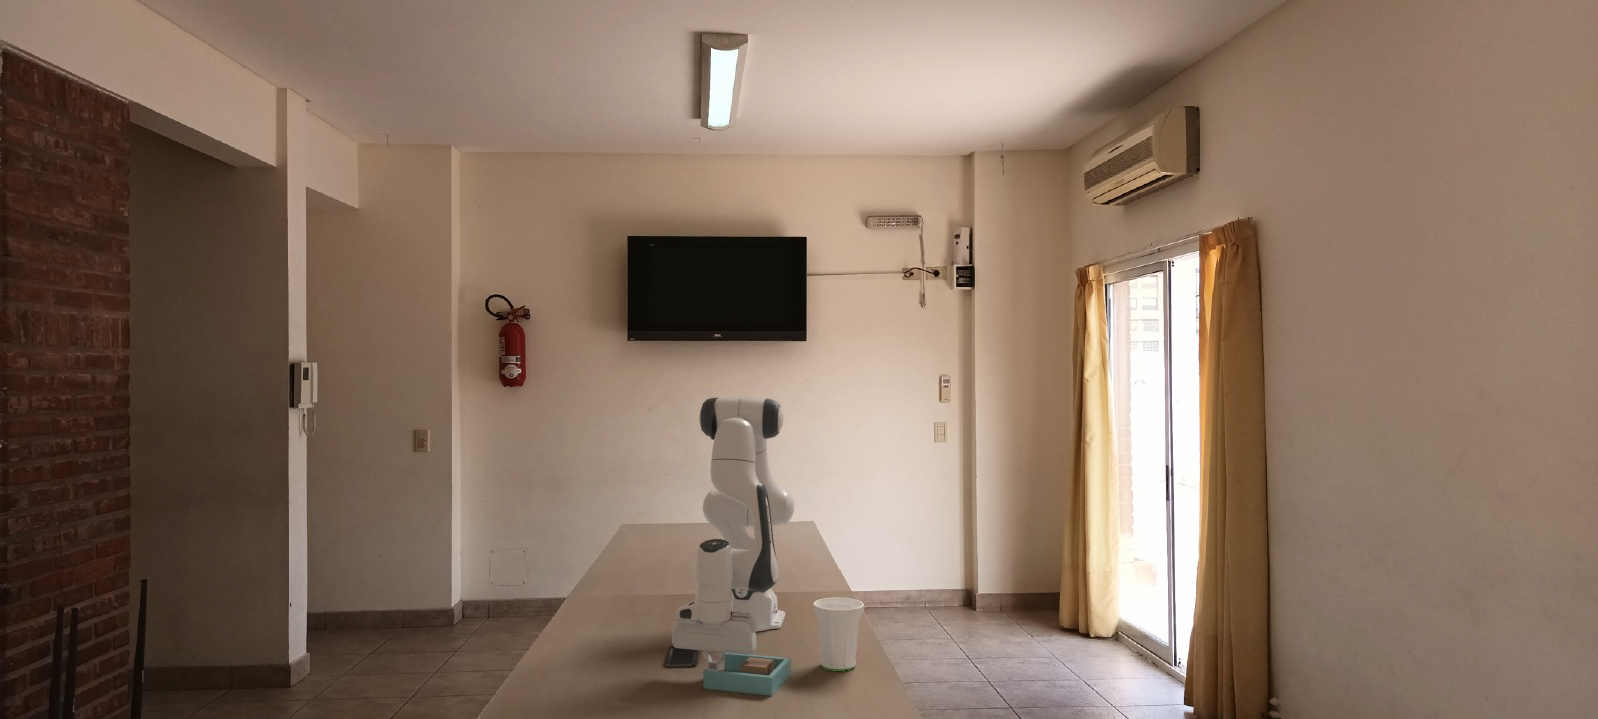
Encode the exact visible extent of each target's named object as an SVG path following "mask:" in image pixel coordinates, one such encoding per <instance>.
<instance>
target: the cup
mask: <svg viewBox="0 0 1598 719" xmlns="http://www.w3.org/2000/svg"><path fill="white" fill-rule="evenodd" d="M812 605H813V606H812V609H813V612H814V614H815V615H816V617H817V618H816V619H817V629H818V638H819V648H820V659H821V662H820V664H821V665H820V666H821V668H822V669H823V670H826V671H829V670H831V671H830V672H836V671H843V672H846V671H845V670H849V671H851V670H850V669H852V668H854V667H855V668H856V666H855V665H856V664H857V663H856V659H857V650H858V641H859V640H858V638H859V630H860V620H861V616H862V614H863V613H864V611H865V604H864V602H863V601H861V600H858V599H855V598H850V597H840V596H838V597H826V598H820V599H817V600H815V601H813V604H812ZM855 668H854V669H855ZM852 670H853V669H852Z"/></svg>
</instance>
